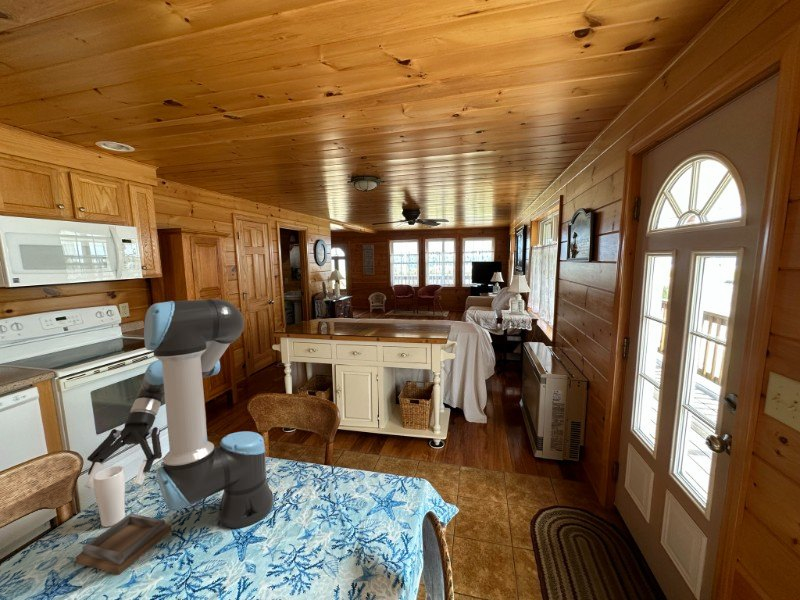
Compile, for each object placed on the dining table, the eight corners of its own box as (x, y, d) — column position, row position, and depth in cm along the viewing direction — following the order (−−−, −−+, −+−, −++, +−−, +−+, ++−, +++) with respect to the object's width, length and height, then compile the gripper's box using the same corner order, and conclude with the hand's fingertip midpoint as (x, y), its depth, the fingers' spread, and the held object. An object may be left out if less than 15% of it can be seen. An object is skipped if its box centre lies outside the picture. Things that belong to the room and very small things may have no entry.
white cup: (110, 531, 93) (105, 481, 92) (91, 528, 95) (86, 478, 93) (134, 514, 100) (130, 466, 98) (116, 511, 101) (111, 464, 100)
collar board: (171, 530, 94) (170, 518, 93) (119, 574, 80) (117, 561, 80) (133, 521, 97) (132, 510, 97) (76, 562, 83) (74, 549, 83)
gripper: (187, 416, 116) (164, 485, 103) (109, 420, 113) (76, 491, 100) (177, 408, 110) (151, 480, 97) (95, 412, 108) (58, 486, 94)
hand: (113, 485), depth 98 cm, fingers open, 13 cm apart
